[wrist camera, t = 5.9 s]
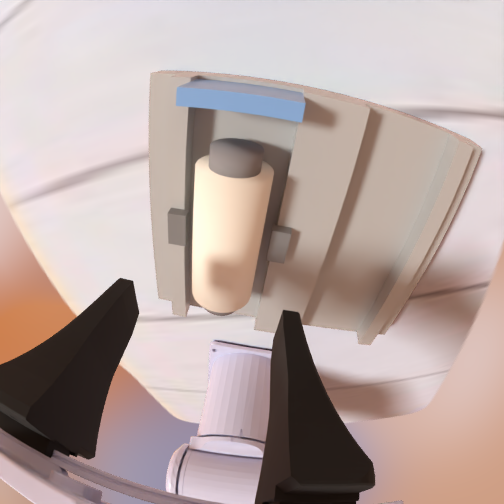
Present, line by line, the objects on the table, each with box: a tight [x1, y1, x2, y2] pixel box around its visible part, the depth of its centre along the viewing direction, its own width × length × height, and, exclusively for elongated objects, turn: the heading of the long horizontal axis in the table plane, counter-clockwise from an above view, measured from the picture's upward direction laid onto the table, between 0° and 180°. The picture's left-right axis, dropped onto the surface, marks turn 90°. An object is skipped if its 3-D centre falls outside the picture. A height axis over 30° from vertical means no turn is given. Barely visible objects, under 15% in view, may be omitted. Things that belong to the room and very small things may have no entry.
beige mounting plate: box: [149, 71, 482, 345], centre depth 17 cm, size 16×18×4 cm
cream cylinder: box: [192, 138, 274, 316], centre depth 16 cm, size 10×4×4 cm, turn 172°
